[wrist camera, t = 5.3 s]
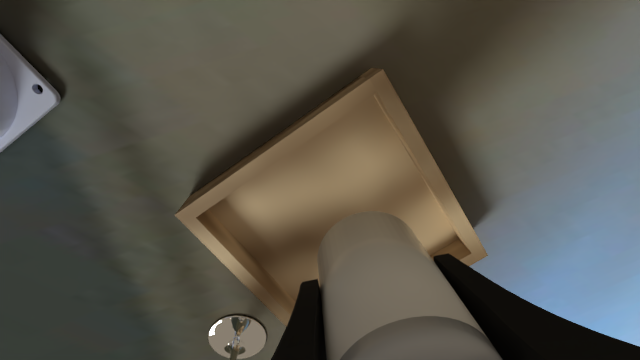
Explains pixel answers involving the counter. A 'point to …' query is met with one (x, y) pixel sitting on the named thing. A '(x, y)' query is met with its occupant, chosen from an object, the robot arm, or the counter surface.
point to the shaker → (390, 297)
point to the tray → (326, 192)
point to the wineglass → (237, 337)
